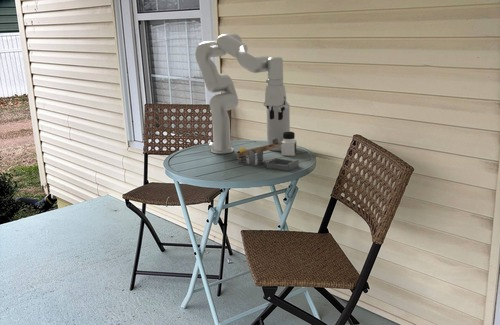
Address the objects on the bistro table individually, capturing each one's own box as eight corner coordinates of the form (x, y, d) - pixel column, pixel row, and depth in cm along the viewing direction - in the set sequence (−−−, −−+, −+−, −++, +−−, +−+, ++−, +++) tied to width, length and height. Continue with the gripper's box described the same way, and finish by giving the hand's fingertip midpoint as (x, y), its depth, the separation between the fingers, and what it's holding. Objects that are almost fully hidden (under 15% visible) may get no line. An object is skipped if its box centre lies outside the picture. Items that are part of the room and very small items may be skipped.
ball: (238, 155, 259) (237, 148, 259) (242, 153, 262) (241, 147, 261) (244, 154, 257) (242, 147, 257) (248, 153, 260) (246, 146, 259)
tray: (266, 167, 248) (266, 161, 247) (276, 163, 256) (276, 156, 255) (288, 171, 241) (288, 164, 240) (298, 166, 249) (298, 159, 248)
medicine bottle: (294, 155, 269) (294, 133, 266) (281, 155, 270) (281, 133, 267) (296, 152, 275) (296, 130, 272) (283, 152, 277) (283, 130, 274)
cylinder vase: (294, 147, 286) (294, 103, 279) (280, 152, 277) (279, 106, 270) (276, 145, 294) (276, 101, 287) (262, 149, 285) (261, 104, 278)
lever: (237, 157, 258) (235, 150, 258) (253, 151, 271) (251, 144, 271) (269, 149, 247) (267, 142, 246) (285, 143, 259) (282, 136, 259)
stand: (235, 163, 258) (234, 149, 256) (245, 159, 265) (244, 145, 263) (255, 166, 252) (255, 152, 250) (265, 161, 259) (264, 148, 257)
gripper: (257, 82, 253) (258, 119, 258) (286, 84, 244) (287, 121, 249) (265, 81, 259) (265, 116, 264) (294, 82, 250) (294, 119, 255)
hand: (276, 118), depth 256 cm, fingers open, 4 cm apart
